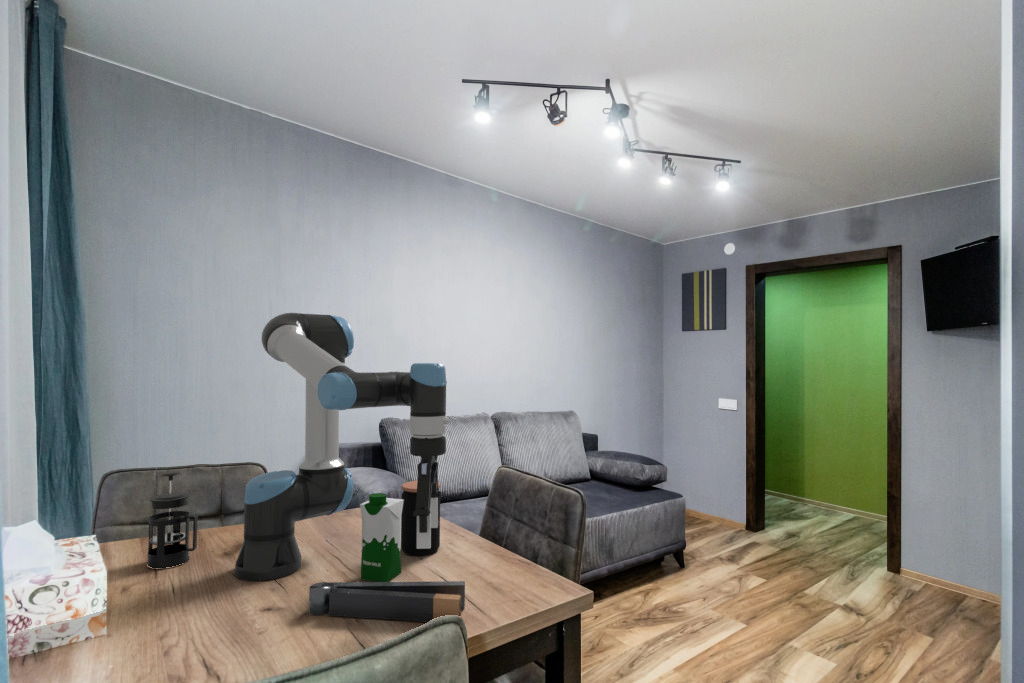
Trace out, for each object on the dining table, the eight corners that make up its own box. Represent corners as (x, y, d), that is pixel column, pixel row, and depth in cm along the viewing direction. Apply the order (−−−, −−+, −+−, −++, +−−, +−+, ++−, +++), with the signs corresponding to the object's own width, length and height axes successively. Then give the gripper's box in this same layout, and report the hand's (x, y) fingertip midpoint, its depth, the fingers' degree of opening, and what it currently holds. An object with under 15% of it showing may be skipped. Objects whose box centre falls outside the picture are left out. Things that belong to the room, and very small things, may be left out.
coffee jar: (436, 557, 144) (437, 489, 144) (396, 556, 144) (397, 488, 144) (442, 543, 154) (443, 480, 155) (405, 543, 154) (406, 480, 155)
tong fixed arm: (306, 615, 110) (306, 591, 110) (313, 606, 115) (313, 582, 115) (463, 614, 111) (464, 589, 112) (464, 604, 116) (465, 580, 116)
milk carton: (354, 580, 128) (356, 495, 129) (376, 567, 136) (377, 487, 137) (387, 586, 125) (388, 499, 126) (406, 571, 134) (408, 490, 134)
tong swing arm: (328, 615, 110) (329, 591, 110) (333, 611, 112) (333, 587, 112) (458, 624, 107) (458, 599, 107) (461, 619, 109) (461, 595, 109)
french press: (135, 570, 133) (138, 477, 134) (154, 557, 142) (157, 469, 143) (187, 568, 135) (189, 475, 136) (202, 554, 144) (204, 468, 145)
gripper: (440, 443, 102) (439, 557, 101) (450, 428, 127) (450, 520, 126) (400, 444, 102) (399, 558, 101) (418, 428, 127) (418, 520, 126)
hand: (427, 537), depth 113 cm, fingers open, 13 cm apart
